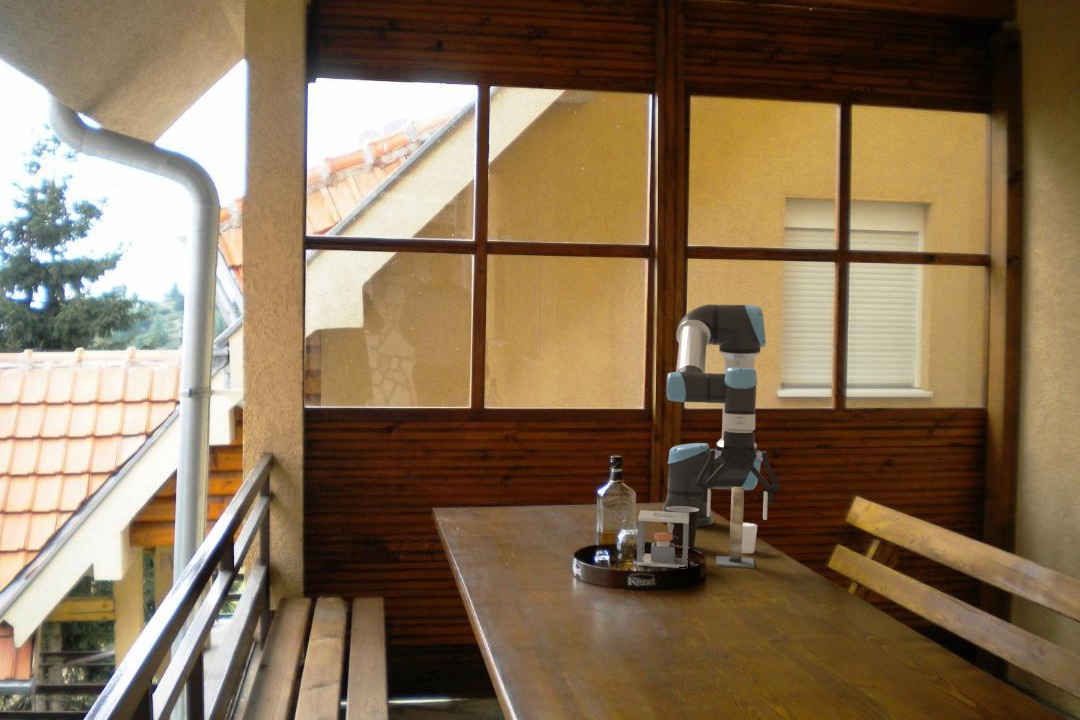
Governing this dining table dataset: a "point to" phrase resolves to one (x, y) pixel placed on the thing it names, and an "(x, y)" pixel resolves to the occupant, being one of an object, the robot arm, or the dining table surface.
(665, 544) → the button
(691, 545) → the coffee mug
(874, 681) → the dining table surface
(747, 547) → the white tapered cup
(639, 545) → the frame
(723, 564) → the coaster
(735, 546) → the dowel
